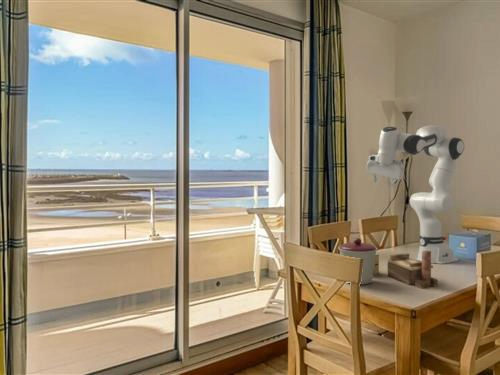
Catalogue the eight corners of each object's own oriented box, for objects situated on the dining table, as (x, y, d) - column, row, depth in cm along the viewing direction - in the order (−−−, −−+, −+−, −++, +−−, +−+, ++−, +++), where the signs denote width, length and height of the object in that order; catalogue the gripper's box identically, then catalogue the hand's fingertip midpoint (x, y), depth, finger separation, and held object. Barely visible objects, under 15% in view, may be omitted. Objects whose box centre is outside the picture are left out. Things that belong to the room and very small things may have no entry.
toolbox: (407, 273, 208) (407, 260, 208) (440, 285, 187) (440, 270, 187) (387, 276, 204) (387, 262, 204) (418, 288, 183) (418, 273, 183)
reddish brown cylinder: (426, 284, 189) (426, 250, 189) (432, 286, 186) (432, 251, 185) (419, 285, 188) (420, 251, 187) (425, 287, 185) (426, 252, 184)
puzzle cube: (351, 273, 211) (351, 254, 211) (362, 269, 218) (362, 251, 217) (367, 277, 204) (367, 257, 203) (379, 273, 210) (379, 254, 210)
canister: (347, 288, 185) (347, 242, 184) (332, 278, 203) (332, 236, 202) (384, 286, 189) (384, 240, 187) (366, 275, 206) (366, 234, 205)
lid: (407, 259, 208) (407, 252, 207) (433, 267, 191) (433, 260, 191) (387, 261, 204) (387, 254, 204) (411, 270, 187) (411, 262, 187)
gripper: (408, 161, 207) (404, 187, 211) (372, 154, 222) (370, 178, 226) (401, 163, 203) (398, 189, 207) (365, 156, 218) (363, 181, 222)
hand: (383, 184), depth 217 cm, fingers open, 8 cm apart
